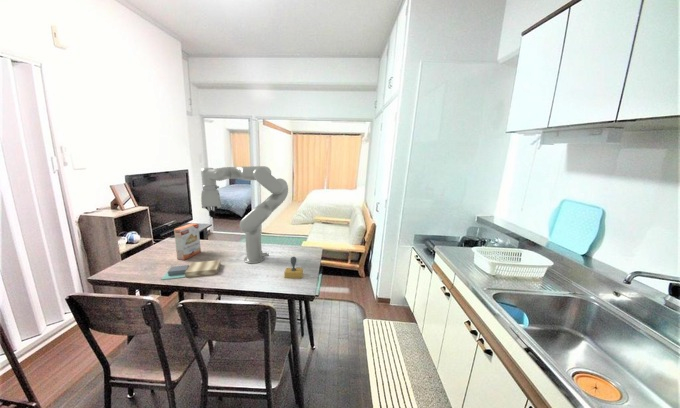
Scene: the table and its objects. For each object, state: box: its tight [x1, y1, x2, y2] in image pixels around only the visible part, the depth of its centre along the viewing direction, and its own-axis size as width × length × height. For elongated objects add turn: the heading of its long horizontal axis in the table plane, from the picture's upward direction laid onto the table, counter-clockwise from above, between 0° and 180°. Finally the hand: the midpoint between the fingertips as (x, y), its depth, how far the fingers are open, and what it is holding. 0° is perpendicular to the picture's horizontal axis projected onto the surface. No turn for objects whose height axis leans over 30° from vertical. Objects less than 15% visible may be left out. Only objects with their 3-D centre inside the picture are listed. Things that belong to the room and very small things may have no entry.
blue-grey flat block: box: [167, 264, 190, 276], centre depth 137 cm, size 9×6×2 cm, turn 108°
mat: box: [160, 268, 186, 281], centre depth 137 cm, size 11×12×1 cm
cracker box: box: [173, 222, 202, 261], centre depth 157 cm, size 14×6×21 cm, turn 167°
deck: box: [184, 259, 221, 278], centre depth 141 cm, size 16×12×3 cm
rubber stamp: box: [283, 256, 304, 279], centre depth 137 cm, size 10×6×12 cm, turn 92°
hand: (212, 216), depth 149 cm, fingers closed
